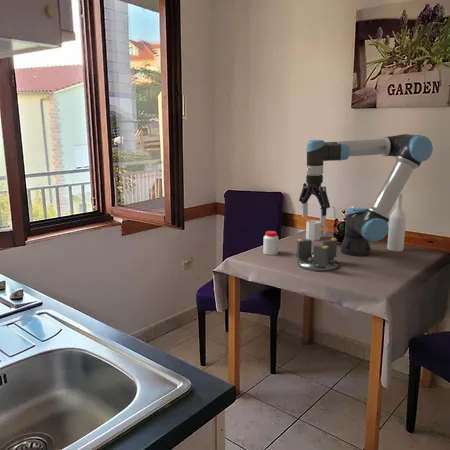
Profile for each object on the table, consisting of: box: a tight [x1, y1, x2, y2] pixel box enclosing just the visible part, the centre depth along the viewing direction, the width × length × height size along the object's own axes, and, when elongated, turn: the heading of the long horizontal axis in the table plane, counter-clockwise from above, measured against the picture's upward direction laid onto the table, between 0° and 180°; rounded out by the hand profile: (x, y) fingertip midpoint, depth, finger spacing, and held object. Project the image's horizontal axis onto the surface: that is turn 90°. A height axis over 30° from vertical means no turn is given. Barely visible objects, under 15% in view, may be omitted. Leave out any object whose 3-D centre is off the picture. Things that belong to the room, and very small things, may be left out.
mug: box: [305, 219, 328, 241], centre depth 261 cm, size 12×9×10 cm
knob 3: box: [322, 237, 338, 260], centre depth 219 cm, size 6×4×10 cm
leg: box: [313, 244, 329, 268], centre depth 209 cm, size 6×4×10 cm
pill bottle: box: [262, 230, 280, 256], centre depth 235 cm, size 8×8×11 cm
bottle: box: [386, 192, 407, 252], centre depth 237 cm, size 8×8×30 cm
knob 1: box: [296, 238, 313, 260], centre depth 219 cm, size 6×4×10 cm
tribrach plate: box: [297, 251, 339, 272], centre depth 216 cm, size 19×19×7 cm
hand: (313, 219), depth 214 cm, fingers open, 13 cm apart
